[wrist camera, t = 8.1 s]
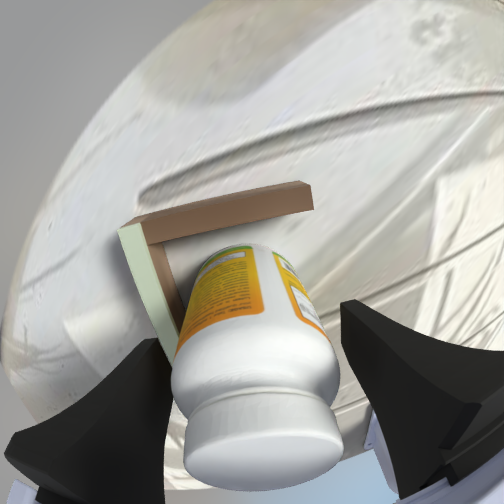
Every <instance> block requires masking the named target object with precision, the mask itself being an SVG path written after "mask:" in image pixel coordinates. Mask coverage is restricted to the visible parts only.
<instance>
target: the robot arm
mask: <svg viewBox="0 0 504 504" xmlns="http://www.w3.org/2000/svg"><path fill="white" fill-rule="evenodd" d="M340 314H341V344H342V347H343V350H344V352H345V355H346V357H347V360H348V362H349V365H350V367H351V368H352V370H353V372H354V374H355V376H356V378H357V379H358V381H359V383H360V385H361V387H362V389H363V390H364V392H365V394H366V396H367V398H368V400H369V402H370V403H371V405H372V408H373V411H372V416H371V420H370V424H369V428H368V432H367V436H366V440H365V444H364V450H368V449H371V448H373V449H374V451H375V454H376V456H377V459H378V461H379V463H380V466H381V469H382V471H383V473H384V476H385V479H386V481H387V484H388V486H389V487H390V489H391V490H392V491H393V492H395V493H397V494H399V498H400V499H398V500H396V503H393V504H504V351H492V350H483V349H475V348H469V347H464V346H460V345H456V344H452V343H448V342H444V341H441V340H438V339H435V338H432V337H429V336H426V335H424V334H421V333H419V332H416V331H414V330H412V329H410V328H408V327H405V326H403V325H401V324H399V323H397V322H395V321H393V320H391V319H390V318H388V317H386V316H384V315H382V314H380V313H379V312H377V311H375V310H373V309H372V308H370V307H368V306H366V305H365V304H363V303H361V302H359V301H357V300H355V299H353V300H349V301H346V302H342V303H340ZM171 374H172V366H171V364H170V362H169V360H168V358H167V356H166V354H165V352H164V350H163V348H162V346H161V344H160V342H159V340H158V338H151V339H144V340H143V341H142V342H141V343H140V344H139V345H138V346H136V347H135V348H134V349H133V350H132V352H131V353H130V354H129V355H128V356H127V357H126V358H125V359H124V360H123V361H122V362H121V363H120V364H119V365H118V366H117V367H116V368H115V369H114V370H113V371H112V372H111V373H110V374H109V375H108V376H107V377H106V378H105V379H104V380H102V381H101V382H100V383H99V384H98V385H97V386H96V387H95V388H94V389H93V390H91V391H90V392H89V393H88V394H87V395H85V396H84V397H83V398H81V399H80V400H79V401H77V402H76V403H75V404H73V405H71V406H70V407H68V408H67V409H65V410H64V411H62V412H61V413H59V414H57V415H56V416H54V417H52V418H50V419H48V420H46V421H44V422H42V423H40V424H37V425H35V426H32V427H30V428H27V429H24V430H22V431H19V432H15V434H14V435H13V436H12V438H11V440H10V442H9V444H8V446H7V448H6V450H5V452H4V455H5V458H6V459H7V460H8V461H9V462H10V463H11V464H12V465H13V466H14V467H15V468H16V469H17V470H19V471H20V472H21V473H22V474H24V475H25V476H26V477H27V478H29V479H30V480H32V481H33V482H34V483H36V484H37V485H39V489H38V491H37V490H35V489H33V488H32V487H30V486H28V485H26V484H25V483H23V482H21V481H19V480H18V479H15V480H14V483H13V485H12V488H11V491H10V493H9V496H8V499H7V502H6V504H165V495H164V446H165V439H166V433H167V428H168V423H169V418H170V413H171V408H172V403H173V398H174V397H173V394H172V389H171Z"/></svg>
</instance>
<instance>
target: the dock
mask: <svg viewBox="0 0 504 504" xmlns="http://www.w3.org/2000/svg"><path fill="white" fill-rule="evenodd" d="M309 210H314V206H313V199H312V193H311V186H310V185H308V184H306V183H304V182H301V181H294V182H288V183H283V184H277V185H272V186H267V187H262V188H256V189H251V190H247V191H242V192H237V193H232V194H228V195H223V196H218V197H214V198H210V199H205V200H201V201H197V202H192V203H188V204H184V205H180V206H176V207H172V208H168V209H164V210H161V211H157V212H153V213H149V214H146V215H142V216H138V217H135V218H134V219H132V220H131V221H129V222H128V223H126V224H125V225H123V226H122V227H121V228H119V229H118V230H117V231H118V235H119V238H120V241H121V244H122V247H123V250H124V253H125V256H126V259H127V262H128V264H129V267H130V270H131V273H132V275H133V278H134V281H135V283H136V286H137V289H138V291H139V294H140V296H141V299H142V301H143V304H144V306H145V308H146V311H147V313H148V316H149V318H150V320H151V322H152V325H153V327H154V329H155V331H156V334H157V336H158V338H159V340H160V342H161V344H162V346H163V349H164V351H165V353H166V355H167V357H168V359H169V361H170V363H171V365H172V367H173V361H174V356H175V352H176V349H177V344H178V340H179V336H180V333H181V329H182V326H183V322H184V319H185V315H186V312H185V310H184V307H183V304H182V301H181V299H180V296H179V293H178V290H177V287H176V284H175V281H174V278H173V275H172V272H171V269H170V266H169V263H168V260H167V257H166V253H165V250H164V247H163V244H162V241H167V240H171V239H175V238H180V237H184V236H188V235H193V234H197V233H202V232H206V231H211V230H215V229H220V228H225V227H229V226H234V225H239V224H244V223H248V222H253V221H258V220H263V219H268V218H273V217H278V216H283V215H288V214H293V213H299V212H304V211H309Z"/></svg>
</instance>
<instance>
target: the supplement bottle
mask: <svg viewBox="0 0 504 504" xmlns="http://www.w3.org/2000/svg"><path fill="white" fill-rule="evenodd" d="M339 384H340V367H339V363H338V359H337V357H336V354H335V351H334V349H333V346H332V344H331V342H330V340H329V338H328V336H327V334H326V332H325V330H324V328H323V326H322V324H321V322H320V320H319V318H318V316H317V314H316V312H315V309H314V307H313V305H312V303H311V301H310V299H309V297H308V295H307V293H306V291H305V289H304V287H303V285H302V283H301V281H300V279H299V277H298V275H297V273H296V271H295V270H294V268H293V267H292V265H291V264H290V263H289V261H288V260H287V259H286V258H285V257H283V256H282V255H281V254H280V253H278V252H277V251H275V250H273V249H271V248H269V247H266V246H262V245H258V244H239V245H234V246H230V247H227V248H225V249H222V250H220V251H218V252H217V253H215V254H214V255H213V256H211V257H210V258H209V259H208V260H207V261H206V262H205V263H204V265H203V266H202V268H201V269H200V271H199V273H198V275H197V277H196V280H195V283H194V286H193V289H192V293H191V297H190V300H189V304H188V308H187V312H186V315H185V319H184V322H183V326H182V329H181V333H180V336H179V340H178V344H177V349H176V352H175V356H174V361H173V368H172V374H171V389H172V394H173V397H174V400H175V402H176V404H177V406H178V407H179V409H180V411H181V412H182V414H183V415H184V416H185V417H186V418H187V419H188V425H187V427H186V431H185V444H184V458H183V463H184V466H185V469H186V471H187V472H188V473H189V474H190V475H191V476H192V477H194V478H195V479H197V480H199V481H201V482H203V483H205V484H207V485H211V486H214V487H218V488H223V489H228V490H236V491H267V490H275V489H280V488H286V487H291V486H295V485H298V484H301V483H304V482H307V481H310V480H312V479H314V478H316V477H318V476H320V475H322V474H324V473H326V472H327V471H329V470H330V469H331V468H333V467H334V466H335V465H336V464H337V463H338V462H339V460H340V459H341V457H342V455H343V452H344V446H343V442H342V438H341V435H340V431H339V428H338V425H337V421H336V416H335V414H334V412H333V411H332V410H331V409H330V406H331V405H332V403H333V401H334V400H335V398H336V395H337V392H338V389H339Z"/></svg>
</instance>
